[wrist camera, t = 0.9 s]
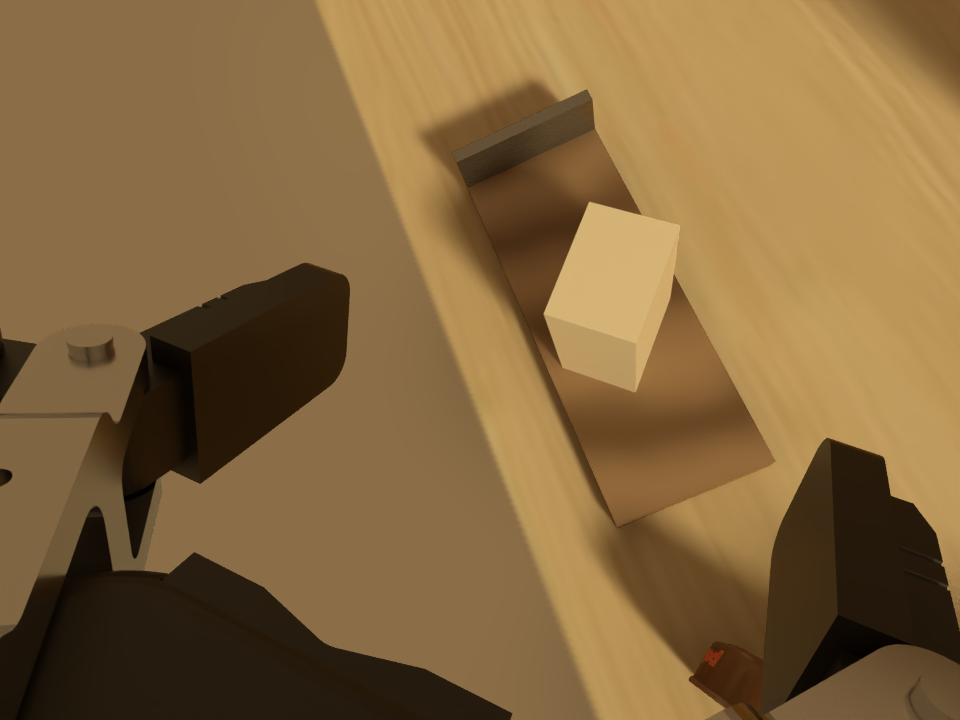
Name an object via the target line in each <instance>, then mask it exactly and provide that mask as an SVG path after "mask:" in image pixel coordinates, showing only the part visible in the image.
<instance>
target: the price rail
mask: <svg viewBox="0 0 960 720" xmlns="http://www.w3.org/2000/svg"><path fill="white" fill-rule="evenodd" d="M594 129H595V124H594V112H593V101H592V98H591V96H590V94H589V92H588V90H584V91H582V92H580V93H578V94H576V95H574V96H572V97H570V98H567V99H565V100H563V101H561V102H559V103H557V104H555V105H552V106H550V107H548V108H546V109H544V110H542V111H540V112H538V113H535V114H533V115H531V116H529V117H527V118H525V119H523V120H520V121H518V122H516V123H514V124H512V125H510V126H508V127H506V128H503V129H501V130H499V131H497V132H495V133H493V134H491V135H488V136H486V137H484V138H482V139H480V140H478V141H476V142H473V143H471V144H469V145H467V146H465V147H463V148H461V149H459V150H456V151H454V152H452V153H453V156H454V158H455V160H456V163H457V165H458V167H459V170H460V172H461V174H462V176H463V179H464V181H465V183H466V186H467V188H469V187H471V186H473V185H475V184H477V183H479V182H482V181H484V180H486V179H488V178H490V177H492V176H495V175H497V174H499V173H501V172H503V171H505V170H508V169H510V168H512V167H514V166H516V165H518V164H521V163H523V162H525V161H527V160H529V159H531V158H533V157H536V156H538V155H540V154H542V153H544V152H546V151H549V150H551V149H553V148H555V147H557V146H559V145H562V144H564V143H566V142H568V141H570V140H572V139H575V138H577V137H579V136H581V135H583V134H585V133H587V132H590V131H592V130H594Z"/></svg>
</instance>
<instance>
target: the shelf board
mask: <svg viewBox="0 0 960 720" xmlns="http://www.w3.org/2000/svg"><path fill="white" fill-rule="evenodd" d="M468 190H469V192H470V195H471V197H472V199H473V201H474V204H475V206H476V208H477V210H478V213H479V215H480V217H481V220H482V222H483V224H484V226H485V229H486V231H487V233H488V235H489V238H490V240H491V242H492V245H493V247H494V249H495V251H496V254H497V256H498V258H499V260H500V263H501V265H502V267H503V269H504V272H505V274H506V276H507V279H508V281H509V283H510V285H511V288H512V290H513V292H514V294H515V297H516V299H517V301H518V304H519V306H520V308H521V310H522V313H523V315H524V317H525V319H526V322H527V324H528V326H529V329H530V331H531V333H532V335H533V338H534V340H535V342H536V344H537V347H538V349H539V351H540V353H541V356H542V358H543V360H544V363H545V365H546V367H547V369H548V372H549V374H550V376H551V378H552V381H553V383H554V385H555V388H556V390H557V392H558V394H559V397H560V399H561V401H562V403H563V406H564V408H565V410H566V413H567V415H568V417H569V419H570V422H571V424H572V426H573V428H574V431H575V433H576V435H577V437H578V440H579V442H580V444H581V447H582V449H583V451H584V453H585V456H586V458H587V460H588V462H589V465H590V467H591V469H592V472H593V474H594V476H595V478H596V481H597V483H598V485H599V487H600V490H601V492H602V494H603V496H604V499H605V501H606V503H607V506H608V508H609V510H610V512H611V515H612V517H613V519H614V521H615V524H616V526H617V528H618V527H621V526H623V525H626V524H628V523H630V522H633V521H635V520H638V519H640V518H643V517H645V516H648V515H650V514H652V513H655V512H657V511H660V510H662V509H665V508H667V507H670V506H672V505H674V504H677V503H679V502H682V501H684V500H687V499H689V498H691V497H694V496H696V495H699V494H701V493H704V492H706V491H709V490H711V489H713V488H716V487H718V486H721V485H723V484H726V483H728V482H731V481H733V480H735V479H738V478H740V477H743V476H745V475H748V474H750V473H752V472H755V471H757V470H760V469H762V468H765V467H767V466H770V465H771V464H773V463H774V462H775V459H774V458H773V456H772V454H771V452H770V450H769V448H768V446H767V445H766V443H765V441H764V439H763V437H762V435H761V434H760V432H759V430H758V428H757V426H756V424H755V423H754V421H753V419H752V417H751V415H750V413H749V411H748V410H747V408H746V406H745V404H744V402H743V400H742V399H741V397H740V395H739V393H738V391H737V389H736V388H735V386H734V384H733V382H732V380H731V378H730V377H729V375H728V373H727V371H726V369H725V367H724V365H723V364H722V362H721V360H720V358H719V356H718V354H717V353H716V351H715V349H714V347H713V345H712V343H711V342H710V340H709V338H708V336H707V334H706V332H705V331H704V329H703V327H702V325H701V323H700V321H699V319H698V318H697V316H696V314H695V312H694V310H693V308H692V307H691V305H690V303H689V301H688V299H687V297H686V296H685V294H684V292H683V290H682V288H681V286H680V284H679V283H678V281H677V279H676V277H675V275H673V282H672V290H671V297H670V300H669V303H668V306H667V309H666V311H665V314H664V317H663V319H662V322H661V325H660V327H659V330H658V333H657V336H656V338H655V341H654V344H653V346H652V349H651V352H650V355H649V357H648V360H647V363H646V365H645V368H644V371H643V374H642V376H641V379H640V382H639V384H638V387H637V390H636V392H632V391H629V390H626V389H623V388H621V387H618V386H615V385H612V384H609V383H606V382H603V381H600V380H597V379H594V378H591V377H588V376H585V375H582V374H580V373H577V372H574V371H571V370H568V369H565V368H562V365H561V362H560V359H559V356H558V354H557V351H556V348H555V345H554V342H553V339H552V337H551V334H550V331H549V328H548V325H547V322H546V319H545V317H544V312H545V309H546V307H547V304H548V302H549V299H550V297H551V294H552V292H553V290H554V287H555V285H556V282H557V280H558V277H559V275H560V272H561V270H562V267H563V265H564V262H565V260H566V258H567V255H568V253H569V250H570V248H571V245H572V243H573V240H574V238H575V235H576V233H577V231H578V228H579V226H580V223H581V221H582V218H583V216H584V213H585V211H586V208H587V206H588V204H589V202H592V203H596V204H600V205H604V206H607V207H611V208H615V209H619V210H623V211H627V212H631V213H634V214H638V215H641V213H640V211H639V209H638V207H637V205H636V204H635V202H634V200H633V198H632V196H631V194H630V192H629V191H628V189H627V187H626V185H625V183H624V181H623V180H622V178H621V176H620V174H619V172H618V170H617V169H616V167H615V165H614V163H613V161H612V159H611V157H610V156H609V154H608V152H607V150H606V148H605V146H604V145H603V143H602V141H601V139H600V137H599V135H598V134H597V132H596V130H595V129H594V130H592V131H590V132H587V133H585V134H583V135H581V136H579V137H577V138H575V139H572V140H570V141H568V142H566V143H564V144H562V145H559V146H557V147H555V148H553V149H551V150H549V151H546V152H544V153H542V154H540V155H538V156H536V157H533V158H531V159H529V160H527V161H525V162H523V163H521V164H518V165H516V166H514V167H512V168H510V169H508V170H505V171H503V172H501V173H499V174H497V175H495V176H492V177H490V178H488V179H486V180H484V181H482V182H479V183H477V184H475V185H473V186H471V187H469V188H468Z"/></svg>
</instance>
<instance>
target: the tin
mask: <svg viewBox="0 0 960 720" xmlns="http://www.w3.org/2000/svg"><path fill="white" fill-rule="evenodd" d="M763 662H764V661H763V660H761V659H760V658H758V657H756V656H754V655H753V654H751V653H749V652H748V651H746V650H744V649H742V648H740V647H737V646H734V645H731V644H725V643H721V642H715V643H713V644H712V646H711V647H710V649H709V650H708V652H707V654H706V656H705V657H704V659H703V661H702V663H701V664H700V666H699V668H698V669H697V671H696V673H695V674H694V676H691V677H690V678H689V681H690V682H691V683H693V684H694V685H695V686H696V687H698V688H699V689H701V690H702V691H703V692H704V693H706V694H707V695H708V696H709V697H711V698H712V699H714V700H715V701H716V702H717V703H719V704H720V705H721V706H723V707H724V708H728V707H730V706H733V705H736V704H739V703H749V704H751V705H752V707H753V708H754V709H755V710H756V711H757V712H758V713H759V715H760V702H761V688H762V675H763Z"/></svg>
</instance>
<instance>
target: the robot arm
mask: <svg viewBox="0 0 960 720" xmlns="http://www.w3.org/2000/svg"><path fill="white" fill-rule="evenodd" d="M349 297H350V286H349V282H348V280H347V278H346V277H345V276H344V275H342V274H339V273H336V272H333V271H330V270H327V269H324V268H321V267H318V266H315V265H313V264H310V263H303V264H300V265H298V266H296V267H294V268H291V269H289V270H287V271H285V272H283V273H281V274H279V275H277V276H274V277H272V278H270V279H268V280H266V281H261V282H256V283H251V284H247V285H243V286H240V287H238V288H236V289H234V290H232V291H229V292H227V293H225V294H223V295H221V298H220V299H219V298H214V299H212V300H210V301H208V302H206V303H204V304H202V307H198V306H197V307H195V308H193V309H191V310H189V311H186V312H184V313H182V314H180V315H178V316H175V317H173V318H171V319H169V320H167V321H165V322H162V323H160V324H158V325H156V326H154V327H152V328H150V329H147V330H145V331H143V332H141V333H138V332H136V331H134V330H132V329H129V328H127V327H123V326H118V325H110V324H91V325H82V326H76V327H71V328H67V329H63V330H61V331H57V332H55V333H53V334H50V335H49V336H47V337H45V338H44V339H42V340H41V341H40V342H39V343H38V344H33V343H27V342H21V341H13V340H8V339H2V335H1V331H0V720H511V717H512V713H511V712H508V711H506V710H505V709H503V708H501V707H499V706H497V705H495V704H493V703H491V702H489V701H487V700H485V699H483V698H481V697H479V696H477V695H475V694H473V693H471V692H469V691H467V690H465V689H463V688H461V687H459V686H457V685H455V684H453V683H451V682H449V681H447V680H446V679H443V678H442V677H439V676H438V675H436V674H434V673H432V672H430V671H428V670H426V669H423V668H418V667H414V666H410V665H406V664H401V663H397V662H393V661H389V660H385V659H380V658H376V657H372V656H368V655H363V654H359V653H355V652H351V651H346V650H342V649H338V648H334V647H331V646H329V645H327V644H325V643H323V642H322V641H321V640H319V639H318V638H317V637H316V636H315V635H314V634H313V633H312V632H311V631H310V630H309V629H308V628H307V627H306V626H305V625H303V624H302V623H301V622H300V621H299V620H298V619H297V618H296V617H295V616H294V615H293V614H292V613H291V612H289V611H288V610H287V609H286V608H285V607H284V606H283V605H282V604H281V603H280V602H279V601H278V600H277V599H276V598H274V597H273V596H272V595H271V594H270V593H269V592H268V591H267V590H266V589H265V588H264V587H262V586H260V585H258V584H256V583H254V582H252V581H250V580H248V579H246V578H244V577H242V576H240V575H238V574H236V573H234V572H232V571H230V570H228V569H226V568H224V567H222V566H220V565H219V564H217V563H215V562H213V561H210V560H209V559H207V558H205V557H203V556H201V555H199V554H197V553H195V552H194V553H193V554H192V555H190V556H189V557H188V558H187V559H186V560H185V561H184V562H182V563H181V564H180V565H179V566H178V567H176V568H175V569H174V570H173V571H172V572H171V573H169V574H167V573H159V572H150V571H144V570H145V565H146V561H147V557H148V552H149V548H150V543H151V539H152V534H153V531H154V526H155V521H156V517H157V513H158V509H159V504H160V500H161V496H162V485H161V477H162V476H163V475H164V474H166V473H167V472H169V471H170V470H172V471H174V472H176V473H178V474H180V475H182V476H184V477H187V478H189V479H191V480H193V481H195V482H197V483H200V484H201V483H202V482H203V481H205V480H206V479H207V478H209V477H210V476H211V475H213V474H214V473H215V472H217V471H218V470H219V469H220V468H222V467H223V466H225V465H226V464H227V463H228V462H230V461H231V460H233V459H234V458H235V457H237V456H238V455H239V454H241V453H242V452H243V451H245V450H246V449H247V448H249V447H250V446H251V445H252V444H254V443H255V442H256V441H258V440H259V439H260V438H262V437H263V436H264V435H266V434H267V433H268V432H269V431H271V430H272V429H274V428H275V427H276V426H278V425H279V424H280V423H282V422H283V421H284V420H286V419H287V418H288V417H290V416H291V415H292V414H294V413H295V412H296V411H298V410H299V409H300V408H301V407H303V406H304V405H306V404H307V403H308V402H309V401H311V400H312V399H313V398H315V397H316V396H317V395H319V394H320V393H321V392H323V391H324V390H325V389H327V388H328V387H329V386H331V385H332V384H333V383H334V382H335V380H336V379H337V378H338V376H339V374H340V372H341V370H342V368H343V365H344V362H345V357H346V348H347V331H348V314H349ZM942 562H943V560H942V556H941V552H940V548H939V544H938V540H937V536H936V533H935V532H934V530H933V529H932V528H931V526H930V525H929V524H928V522H927V521H926V520H925V518H924V517H923V516H922V514H921V513H920V512H919V510H918V509H917V508H916V507H915V505H914V504H913V503H910V502H907V501H904V500H901V499H898V498H895V497H893V496H891V494H890V488H889V482H888V476H887V470H886V464H885V460H884V458H883V456H880V455H877V454H874V453H871V452H868V451H865V450H862V449H859V448H856V447H853V446H850V445H847V444H844V443H841V442H838V441H835V440H832V439H829V438H826V439H825V440H824V441H823V442H822V443H821V445H820V446H819V448H818V450H817V452H816V454H815V456H814V458H813V460H812V462H811V464H810V466H809V468H808V470H807V472H806V474H805V476H804V478H803V480H802V482H801V484H800V486H799V488H798V490H797V492H796V494H795V496H794V498H793V500H792V502H791V504H790V506H789V508H788V510H787V512H786V514H785V516H784V518H783V520H782V523H781V525H780V528H779V531H778V533H777V536H776V540H775V543H774V547H773V552H772V558H771V570H770V583H769V596H768V609H767V623H766V636H765V649H764V662H763V675H762V688H761V702H760V715H759V713H758V712H757V711H756V710H755V709H754V708H753V707H752V705H751V704H749V703H739V704H736V705H733V706H730V707H728V708H726V709H724V710H722V711H720V712H719V713H717V714H715V715H713V716H711V717H709V718H708V719H706V720H960V631H959V626H958V622H957V618H956V614H955V610H954V606H953V602H952V598H951V593H950V591H948V590H947V587H948V581H947V577H946V573H945V569H944V567H943V566H941V564H942Z"/></svg>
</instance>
